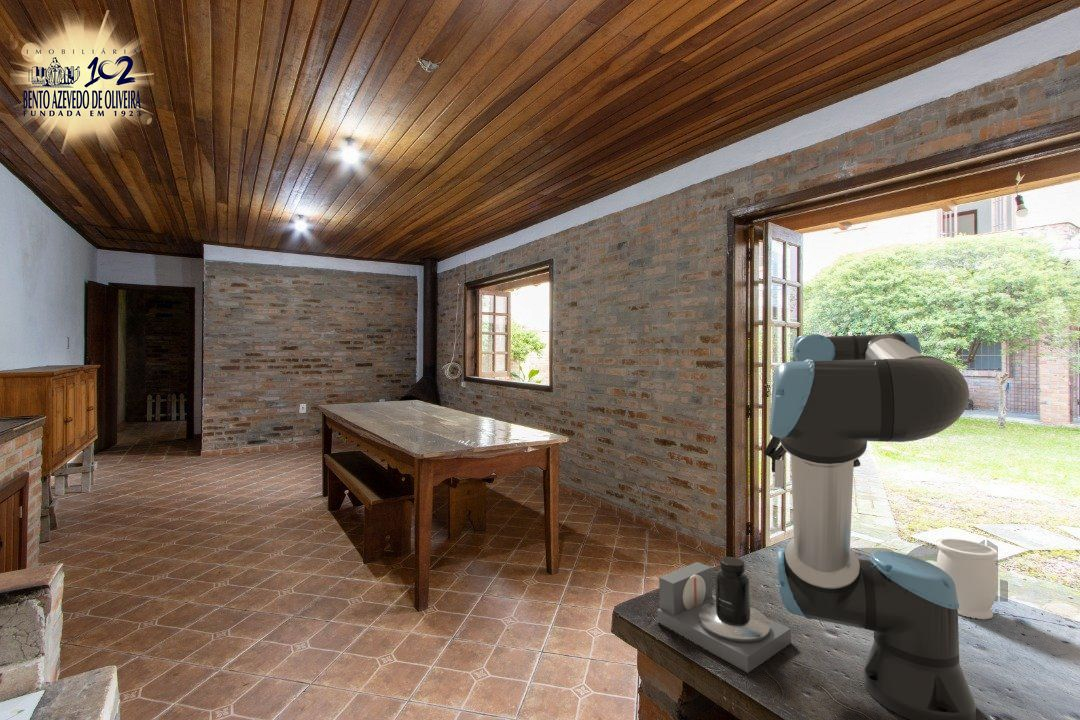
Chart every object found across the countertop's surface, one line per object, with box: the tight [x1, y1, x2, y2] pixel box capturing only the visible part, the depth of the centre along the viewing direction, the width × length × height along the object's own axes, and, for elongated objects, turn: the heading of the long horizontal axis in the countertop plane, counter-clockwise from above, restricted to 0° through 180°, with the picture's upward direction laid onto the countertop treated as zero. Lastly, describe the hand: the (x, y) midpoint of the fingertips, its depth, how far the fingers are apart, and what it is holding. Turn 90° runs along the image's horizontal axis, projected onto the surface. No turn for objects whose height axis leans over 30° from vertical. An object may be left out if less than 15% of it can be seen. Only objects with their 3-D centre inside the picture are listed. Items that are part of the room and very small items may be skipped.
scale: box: [656, 561, 792, 674], centre depth 102 cm, size 22×16×10 cm
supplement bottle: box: [715, 556, 751, 625], centre depth 100 cm, size 7×7×12 cm
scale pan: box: [699, 602, 770, 643], centre depth 100 cm, size 14×14×1 cm
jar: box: [936, 538, 999, 620], centre depth 109 cm, size 11×10×15 cm
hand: (808, 492), depth 109 cm, fingers open, 13 cm apart
